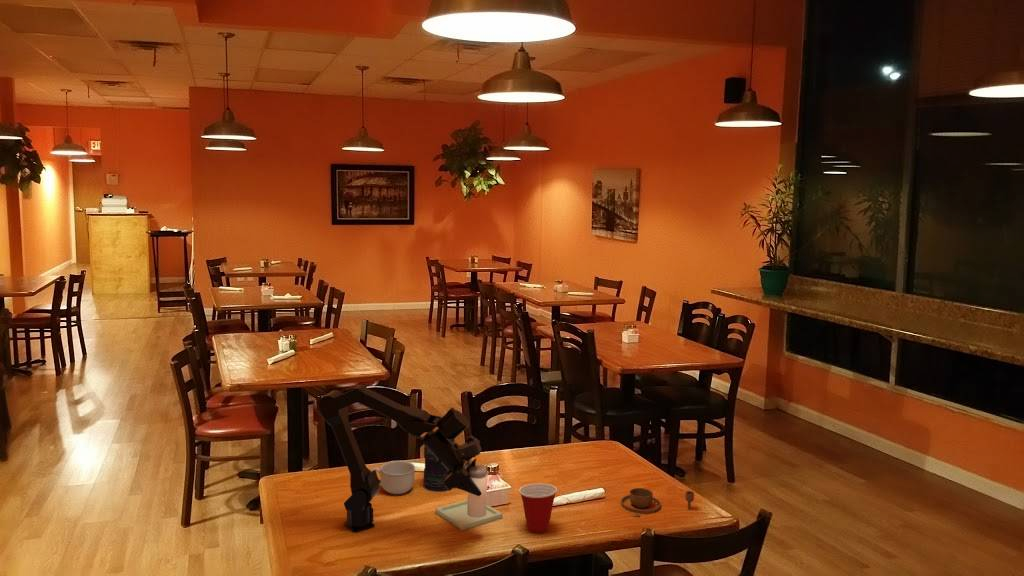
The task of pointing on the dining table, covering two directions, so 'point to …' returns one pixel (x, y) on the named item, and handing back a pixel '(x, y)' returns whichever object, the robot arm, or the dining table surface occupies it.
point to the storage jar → (434, 472)
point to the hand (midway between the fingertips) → (482, 490)
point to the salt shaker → (476, 503)
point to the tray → (459, 516)
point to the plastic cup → (538, 505)
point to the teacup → (396, 476)
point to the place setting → (647, 500)
